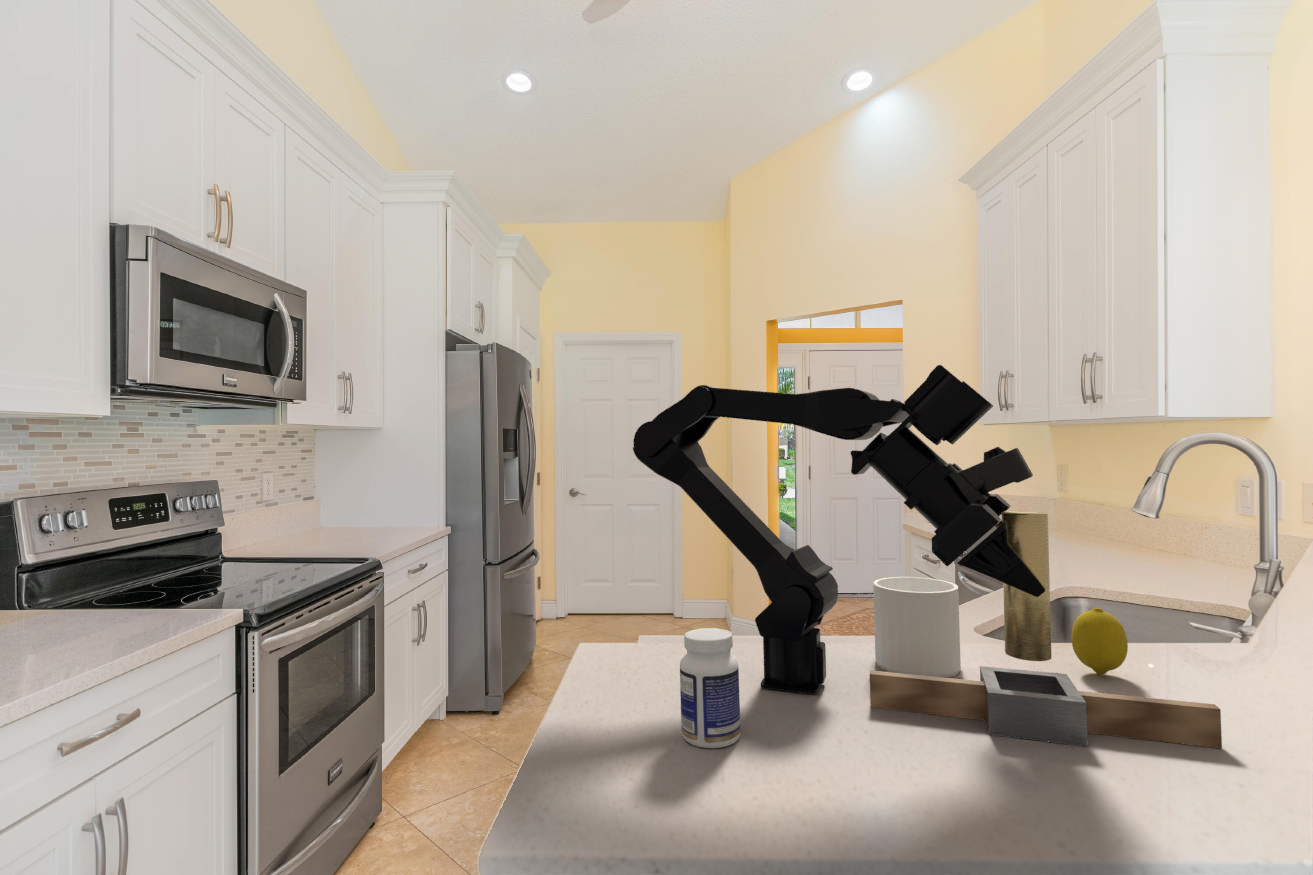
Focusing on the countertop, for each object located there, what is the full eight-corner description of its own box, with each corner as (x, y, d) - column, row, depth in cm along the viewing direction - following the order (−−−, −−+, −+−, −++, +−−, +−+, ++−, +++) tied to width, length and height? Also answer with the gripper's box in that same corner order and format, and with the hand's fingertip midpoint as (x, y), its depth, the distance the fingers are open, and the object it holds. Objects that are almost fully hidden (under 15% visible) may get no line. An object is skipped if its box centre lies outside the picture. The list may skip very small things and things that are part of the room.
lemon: (1138, 684, 74) (1135, 613, 74) (1084, 681, 75) (1082, 612, 75) (1114, 668, 79) (1112, 602, 80) (1064, 666, 81) (1062, 601, 81)
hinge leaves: (870, 706, 69) (869, 673, 69) (871, 702, 70) (870, 670, 70) (1222, 748, 58) (1220, 709, 58) (1216, 742, 59) (1214, 704, 59)
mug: (979, 674, 78) (976, 589, 78) (907, 683, 76) (904, 595, 76) (914, 645, 90) (912, 571, 91) (849, 652, 88) (847, 576, 88)
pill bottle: (746, 728, 64) (743, 627, 65) (733, 754, 59) (731, 644, 59) (690, 721, 66) (688, 623, 67) (673, 746, 61) (671, 639, 61)
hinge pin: (1015, 660, 62) (1011, 515, 63) (998, 647, 66) (995, 511, 67) (1059, 661, 62) (1055, 515, 62) (1039, 648, 66) (1036, 511, 66)
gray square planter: (989, 734, 62) (988, 692, 62) (981, 703, 69) (979, 665, 69) (1087, 746, 59) (1086, 702, 59) (1068, 713, 66) (1066, 673, 67)
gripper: (967, 418, 59) (1119, 548, 53) (986, 423, 75) (1105, 524, 69) (879, 502, 63) (1011, 632, 57) (915, 490, 79) (1021, 591, 73)
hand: (1042, 589), depth 64 cm, fingers closed on hinge pin, 4 cm apart
